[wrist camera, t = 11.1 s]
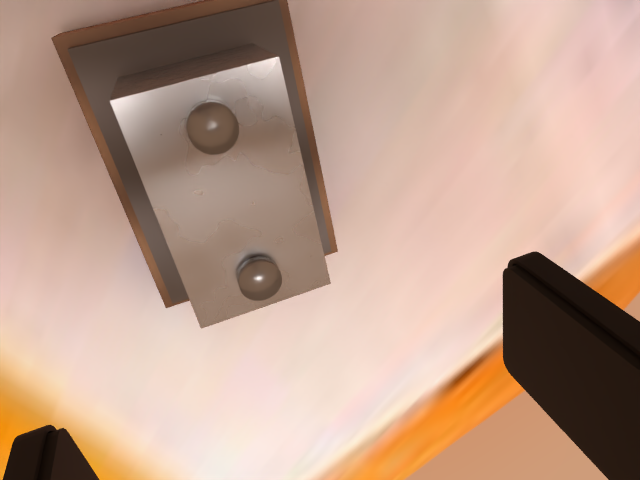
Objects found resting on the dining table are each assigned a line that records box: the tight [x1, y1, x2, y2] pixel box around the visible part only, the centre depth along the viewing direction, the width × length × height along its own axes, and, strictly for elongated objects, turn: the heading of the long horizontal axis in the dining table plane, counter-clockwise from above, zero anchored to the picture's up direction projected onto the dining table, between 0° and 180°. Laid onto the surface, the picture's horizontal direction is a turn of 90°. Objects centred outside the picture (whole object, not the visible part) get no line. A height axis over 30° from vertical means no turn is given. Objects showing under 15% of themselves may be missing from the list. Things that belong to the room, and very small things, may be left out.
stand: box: [52, 0, 338, 308], centre depth 26 cm, size 14×10×3 cm
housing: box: [110, 43, 331, 328], centre depth 22 cm, size 10×6×6 cm, turn 12°
